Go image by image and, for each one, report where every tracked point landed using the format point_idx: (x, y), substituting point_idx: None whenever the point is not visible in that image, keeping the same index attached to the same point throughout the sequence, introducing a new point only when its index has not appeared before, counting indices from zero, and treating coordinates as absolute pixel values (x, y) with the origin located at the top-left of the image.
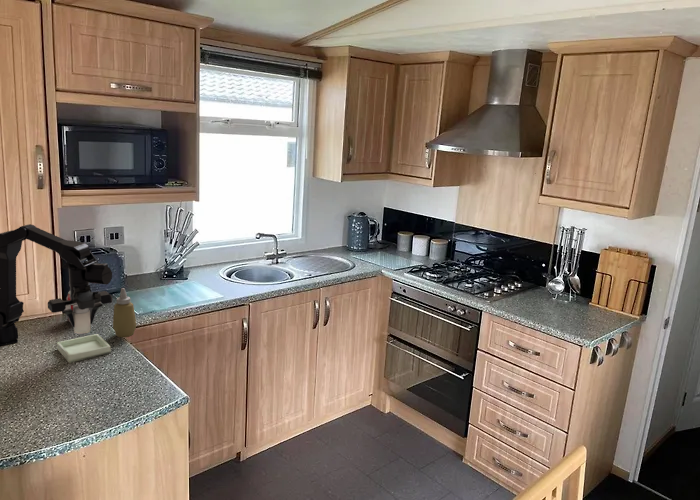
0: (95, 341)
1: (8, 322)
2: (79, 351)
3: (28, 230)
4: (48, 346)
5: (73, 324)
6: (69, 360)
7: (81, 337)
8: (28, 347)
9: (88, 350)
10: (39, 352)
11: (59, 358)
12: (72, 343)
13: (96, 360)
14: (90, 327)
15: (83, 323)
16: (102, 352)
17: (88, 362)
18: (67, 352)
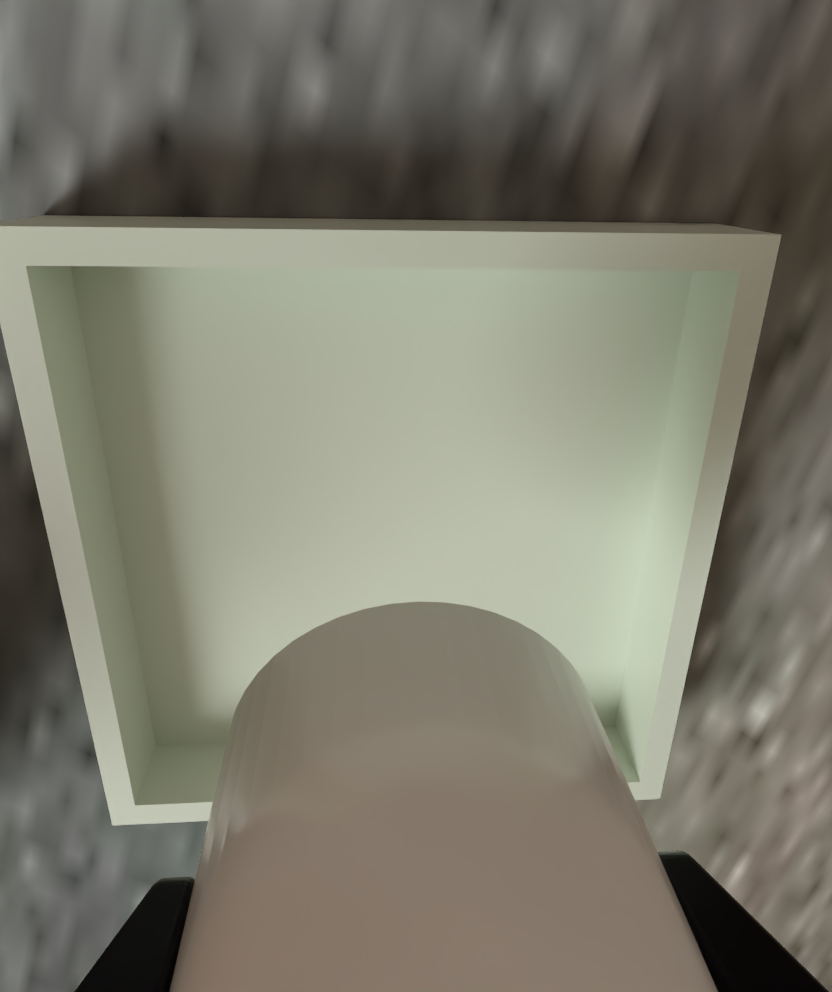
0: (182, 700)
1: None
2: (467, 496)
3: None
4: (665, 827)
5: (729, 928)
6: (723, 227)
7: None
8: (814, 881)
9: (349, 462)
10: (805, 735)
11: (732, 463)
12: None
13: (335, 36)
14: (238, 749)
15: (486, 843)
16: (175, 218)
17: (475, 38)
18: (721, 395)
